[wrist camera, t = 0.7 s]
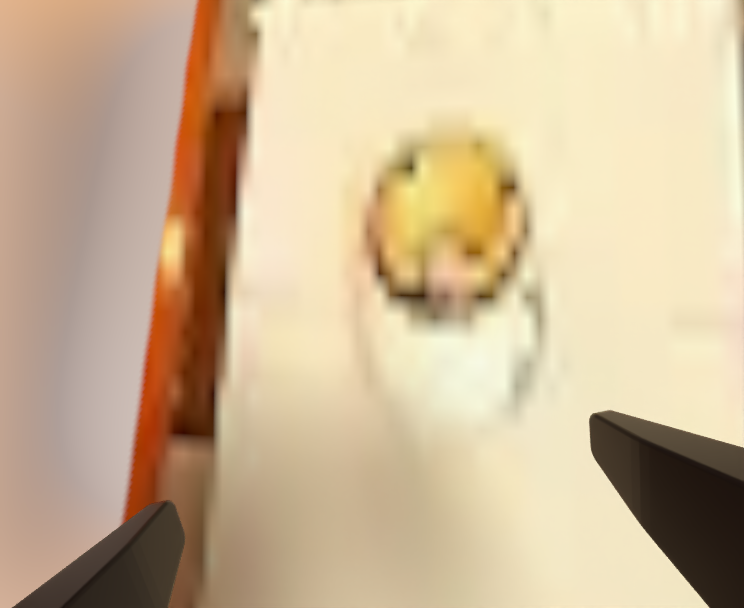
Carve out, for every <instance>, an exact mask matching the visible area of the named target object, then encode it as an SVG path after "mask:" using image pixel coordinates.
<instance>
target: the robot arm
mask: <svg viewBox="0 0 744 608" xmlns="http://www.w3.org/2000/svg"><path fill="white" fill-rule="evenodd" d="M589 426H590V444H591V451H592V454H593V456H594V458H595V460H596V461H597V463H598V464H599V466H600V467H601V469H602V470H603V472H604V473H605V474H606V476H607V477H608V479H609V480H610V482H611V483H612V485H613V486H614V488H615V489H616V490H617V492H618V493H619V495H620V496H621V498H622V499H623V501H624V502H625V503H626V505H627V506H628V508H629V509H630V511H631V512H632V514H633V515H634V516H635V518H636V519H637V520H638V522H639V523H640V524H641V526H642V527H643V528H644V529H645V531H646V532H647V533H648V534H649V536H650V537H651V538H652V539H653V541H654V542H655V543H656V544H657V545H658V547H659V548H660V549H661V550H662V551H663V552H664V554H665V555H666V556H667V557H668V558H669V560H670V561H671V562H672V563H673V564H674V566H675V567H676V568H677V569H678V570H679V572H680V573H681V574H682V575H683V576H684V578H685V579H686V580H687V581H688V582H689V584H690V585H691V586H692V587H693V588H694V590H695V591H696V592H697V593H698V594H699V596H700V597H701V598H702V599H703V600H704V602H705V603H706V604H707V605H708V606H709V608H744V448H743V447H739V446H736V445H732V444H729V443H725V442H722V441H718V440H715V439H711V438H707V437H704V436H700V435H697V434H693V433H690V432H686V431H683V430H679V429H675V428H672V427H668V426H665V425H661V424H658V423H654V422H651V421H647V420H644V419H640V418H636V417H633V416H629V415H626V414H622V413H619V412H615V411H611V410H607V411H603V412H598V413H593V414H592V415H591V416H590V419H589ZM184 543H185V533H184V529H183V527H182V524H181V521H180V518H179V515H178V512H177V510H176V507H175V505H174V503H173V502H172V501H170V500H167V501H162V502H157V503H152V504H150V505H148V506H147V507H145V508H144V509H143V510H141V511H140V512H139V513H137V514H136V515H135V516H133V517H132V518H131V519H129V520H128V521H127V522H125V523H124V524H123V525H121V526H120V527H119V528H117V529H116V530H115V531H113V532H112V533H111V534H109V535H108V536H107V537H105V538H104V539H103V540H102V541H100V542H99V543H98V544H96V545H95V546H93V547H92V548H91V549H90V550H88V551H87V552H85V553H84V554H83V555H81V556H80V557H79V558H77V559H76V560H75V561H73V562H72V563H71V564H70V565H68V566H67V567H66V568H64V569H63V570H62V571H60V572H59V573H58V574H56V575H55V576H54V577H52V578H51V579H50V580H48V581H47V582H46V583H44V584H43V585H42V586H40V587H39V588H38V589H36V590H35V591H34V592H32V593H31V594H30V595H28V596H27V597H26V598H24V599H23V600H22V601H20V602H19V603H18V604H16V605H15V606H14V607H12V608H168V606H169V602H170V598H171V594H172V591H173V587H174V583H175V579H176V575H177V571H178V567H179V564H180V560H181V556H182V552H183V548H184Z"/></svg>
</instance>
